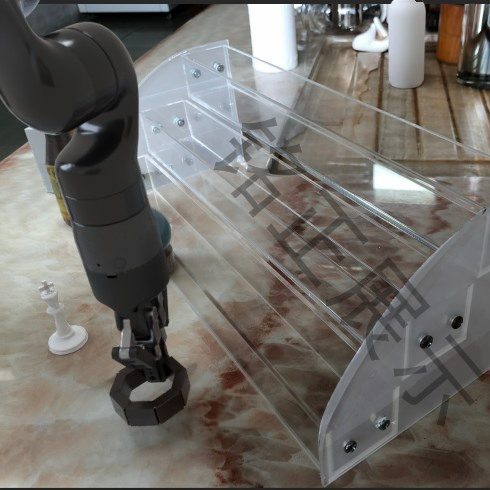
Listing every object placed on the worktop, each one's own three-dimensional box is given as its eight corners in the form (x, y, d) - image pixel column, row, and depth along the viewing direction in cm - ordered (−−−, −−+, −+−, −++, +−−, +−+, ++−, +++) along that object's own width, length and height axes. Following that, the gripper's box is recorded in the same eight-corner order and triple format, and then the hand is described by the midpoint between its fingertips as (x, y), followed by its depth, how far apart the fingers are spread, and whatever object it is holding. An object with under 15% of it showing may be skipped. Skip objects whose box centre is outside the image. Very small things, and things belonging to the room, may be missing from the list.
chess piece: (43, 341, 78) (16, 281, 73) (80, 323, 81) (56, 264, 75) (56, 360, 75) (29, 299, 69) (94, 341, 77) (71, 281, 72)
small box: (74, 195, 112) (52, 130, 105) (46, 192, 114) (22, 129, 106) (98, 175, 118) (79, 113, 111) (71, 173, 120) (50, 112, 113)
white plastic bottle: (387, 78, 155) (387, -49, 138) (421, 76, 154) (425, -52, 137) (389, 90, 147) (388, -43, 130) (425, 88, 147) (429, -46, 130)
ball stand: (119, 286, 87) (100, 226, 81) (134, 255, 94) (116, 197, 88) (173, 283, 87) (157, 223, 81) (184, 252, 93) (170, 194, 88)
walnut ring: (108, 427, 61) (101, 411, 60) (128, 372, 67) (122, 356, 66) (181, 424, 61) (176, 408, 59) (194, 370, 67) (190, 354, 66)
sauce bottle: (57, 227, 103) (16, 118, 91) (79, 208, 107) (43, 103, 96) (89, 231, 101) (51, 120, 90) (110, 212, 106) (77, 105, 94)
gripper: (104, 211, 62) (141, 334, 72) (56, 293, 51) (108, 425, 61) (175, 208, 62) (203, 331, 72) (142, 289, 51) (180, 422, 61)
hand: (159, 374), depth 66 cm, fingers closed on walnut ring, 1 cm apart
